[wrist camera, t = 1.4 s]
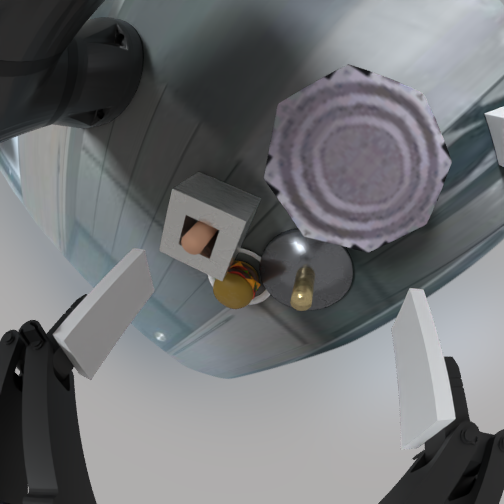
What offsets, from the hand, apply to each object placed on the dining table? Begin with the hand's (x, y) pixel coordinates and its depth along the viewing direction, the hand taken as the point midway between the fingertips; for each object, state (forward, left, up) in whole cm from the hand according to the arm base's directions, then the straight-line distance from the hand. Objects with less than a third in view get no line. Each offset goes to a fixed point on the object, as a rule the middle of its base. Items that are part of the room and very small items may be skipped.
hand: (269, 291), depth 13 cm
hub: (+5, -9, -18) cm, 20 cm away
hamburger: (-2, -15, -18) cm, 24 cm away
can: (+2, +6, -18) cm, 19 cm away
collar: (-7, -7, -18) cm, 20 cm away
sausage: (-7, -7, -18) cm, 20 cm away
